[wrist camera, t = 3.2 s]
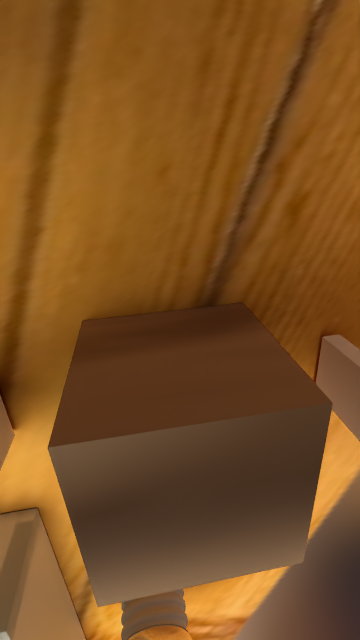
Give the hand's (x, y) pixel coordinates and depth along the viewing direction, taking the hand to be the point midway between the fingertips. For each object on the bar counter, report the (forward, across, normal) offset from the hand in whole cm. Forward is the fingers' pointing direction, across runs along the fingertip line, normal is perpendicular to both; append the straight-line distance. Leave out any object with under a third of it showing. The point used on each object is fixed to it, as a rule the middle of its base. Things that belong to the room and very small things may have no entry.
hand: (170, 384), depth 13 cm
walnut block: (0, 0, 0) cm, 0 cm away
